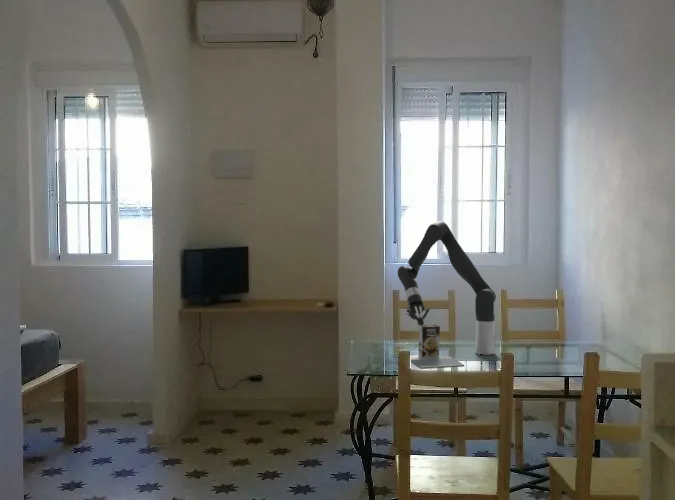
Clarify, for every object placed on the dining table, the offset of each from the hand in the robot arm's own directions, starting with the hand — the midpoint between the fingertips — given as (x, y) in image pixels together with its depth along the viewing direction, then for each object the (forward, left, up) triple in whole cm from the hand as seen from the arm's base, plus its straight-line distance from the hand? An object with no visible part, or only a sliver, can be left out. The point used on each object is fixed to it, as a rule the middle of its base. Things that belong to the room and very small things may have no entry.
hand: (421, 325), depth 396 cm
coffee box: (0, +11, -14) cm, 18 cm away
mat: (+1, +24, -14) cm, 28 cm away
